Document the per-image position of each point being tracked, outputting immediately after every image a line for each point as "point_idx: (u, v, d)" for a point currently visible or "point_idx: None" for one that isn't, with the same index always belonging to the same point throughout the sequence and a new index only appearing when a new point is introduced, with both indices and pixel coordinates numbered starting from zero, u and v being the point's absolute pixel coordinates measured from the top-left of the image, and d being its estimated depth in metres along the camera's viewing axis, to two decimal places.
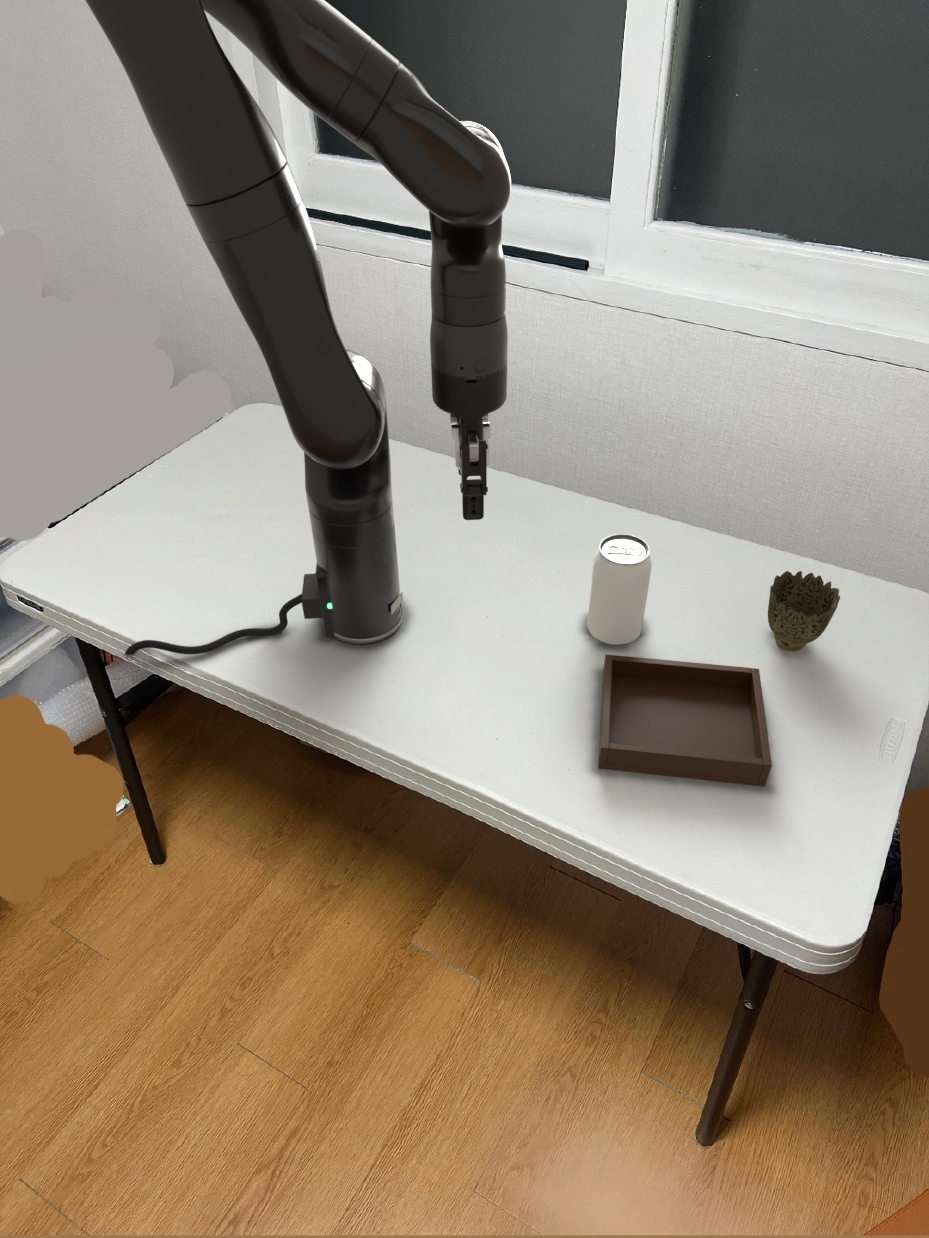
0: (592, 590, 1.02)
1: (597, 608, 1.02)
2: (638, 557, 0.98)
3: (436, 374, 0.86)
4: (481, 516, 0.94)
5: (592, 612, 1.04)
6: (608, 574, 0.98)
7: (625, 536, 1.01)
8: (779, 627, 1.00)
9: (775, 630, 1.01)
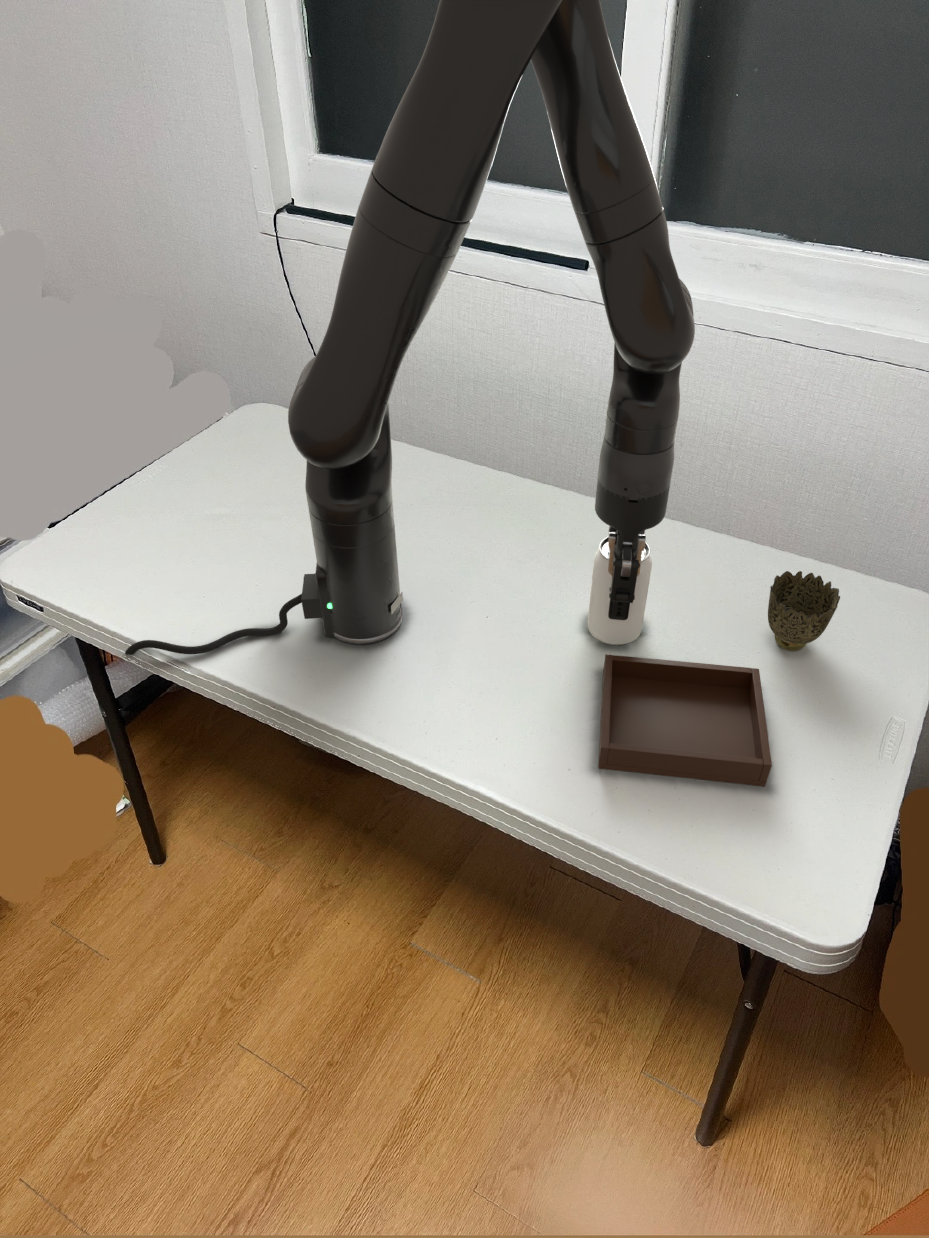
0: (592, 590, 1.02)
1: (597, 608, 1.02)
2: None
3: (601, 489, 0.92)
4: (625, 617, 1.00)
5: (592, 612, 1.04)
6: (608, 574, 0.98)
7: None
8: (779, 627, 1.00)
9: (775, 630, 1.01)
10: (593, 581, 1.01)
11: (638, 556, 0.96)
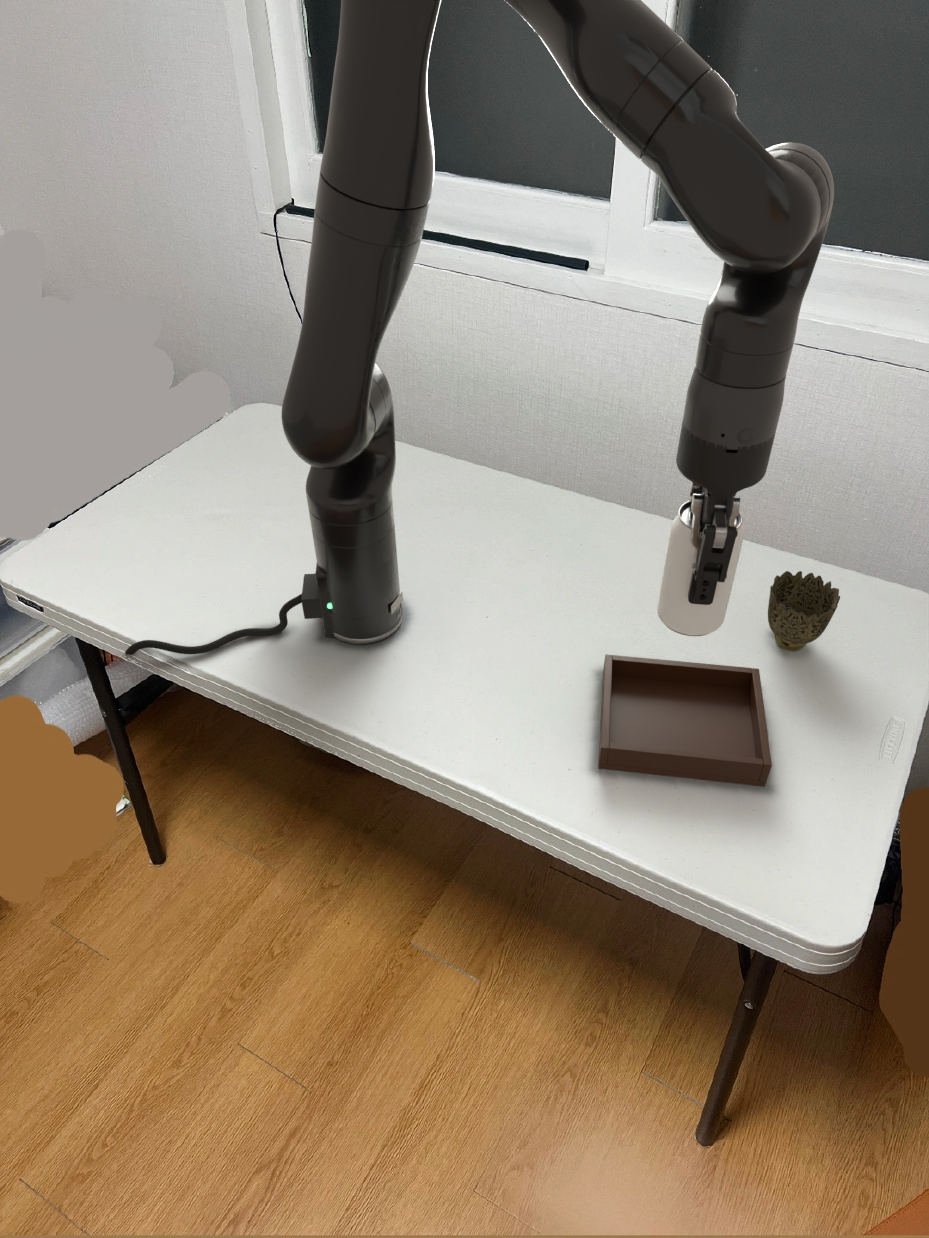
0: (667, 568, 0.83)
1: (673, 591, 0.83)
2: None
3: (688, 437, 0.73)
4: (710, 601, 0.81)
5: (665, 595, 0.84)
6: (691, 547, 0.79)
7: None
8: (779, 627, 1.00)
9: (775, 630, 1.01)
10: (669, 557, 0.82)
11: (730, 523, 0.77)
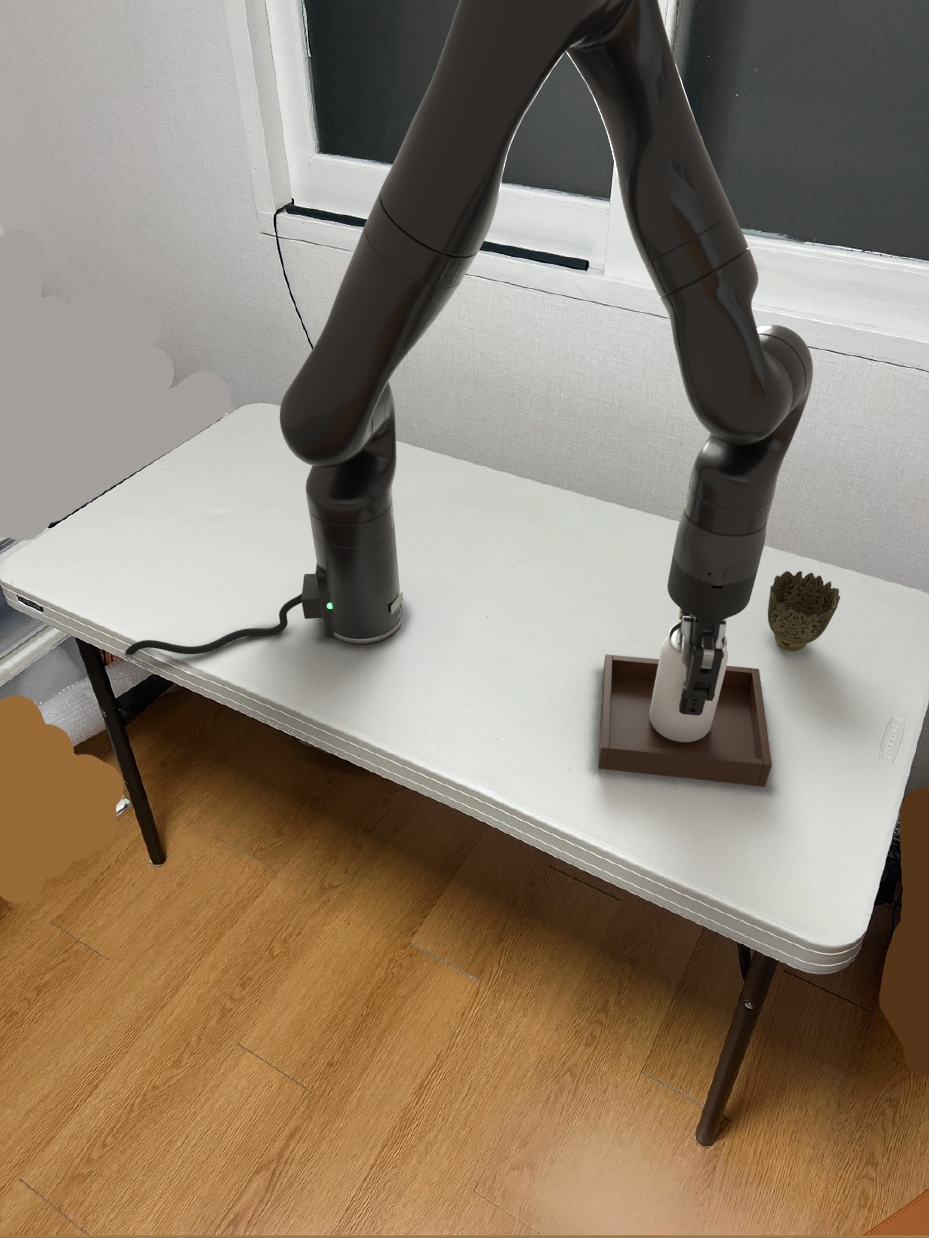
0: (658, 682, 0.90)
1: (663, 703, 0.90)
2: None
3: (678, 571, 0.79)
4: (699, 713, 0.87)
5: (657, 706, 0.91)
6: (679, 668, 0.86)
7: None
8: (779, 627, 1.00)
9: (775, 630, 1.01)
10: (660, 673, 0.89)
11: (717, 643, 0.83)
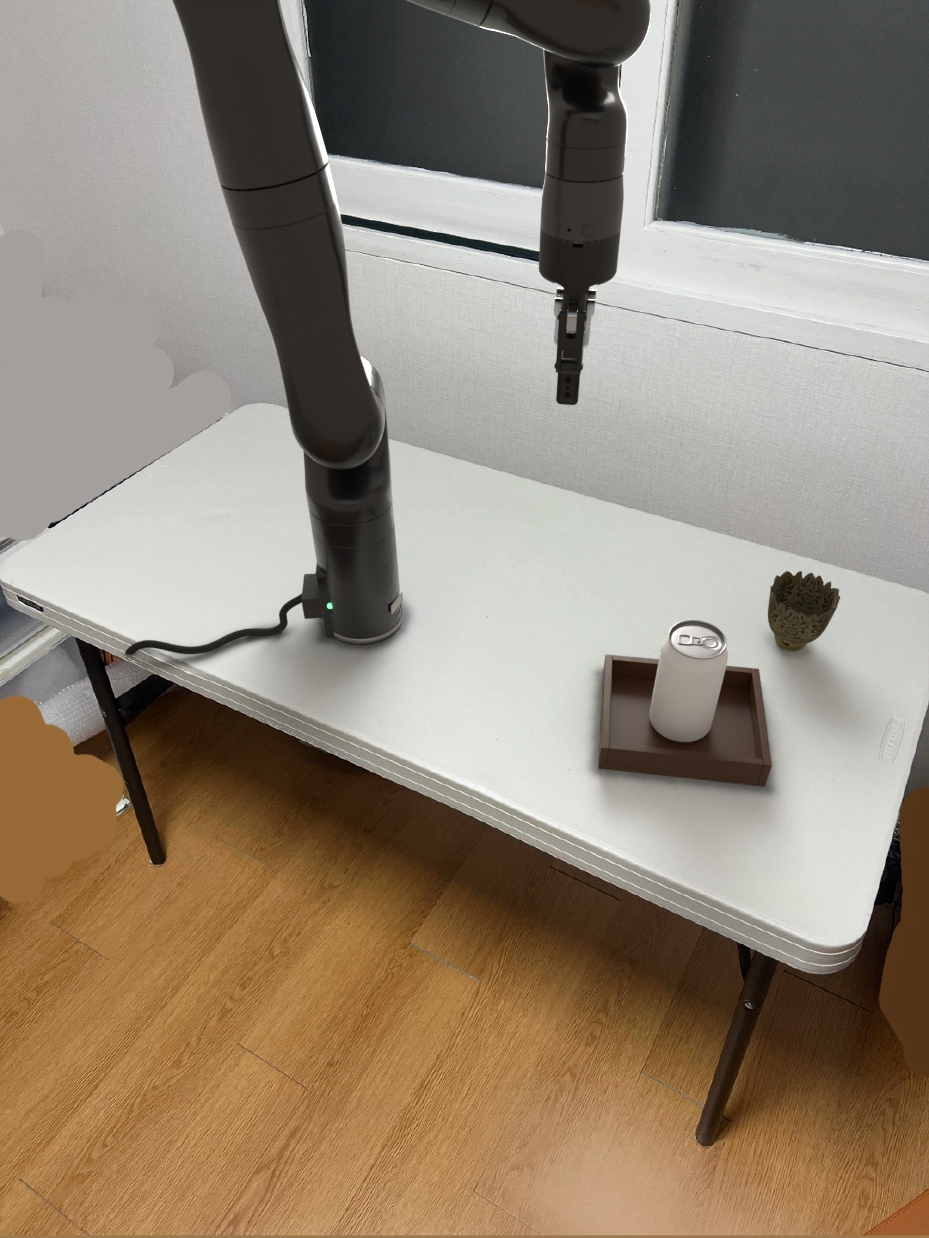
0: (658, 682, 0.90)
1: (663, 703, 0.90)
2: (713, 649, 0.86)
3: (543, 238, 0.83)
4: (575, 401, 0.90)
5: (657, 706, 0.91)
6: (679, 668, 0.86)
7: (696, 622, 0.89)
8: (779, 627, 1.00)
9: (775, 630, 1.01)
10: (660, 673, 0.89)
11: (586, 321, 0.87)
